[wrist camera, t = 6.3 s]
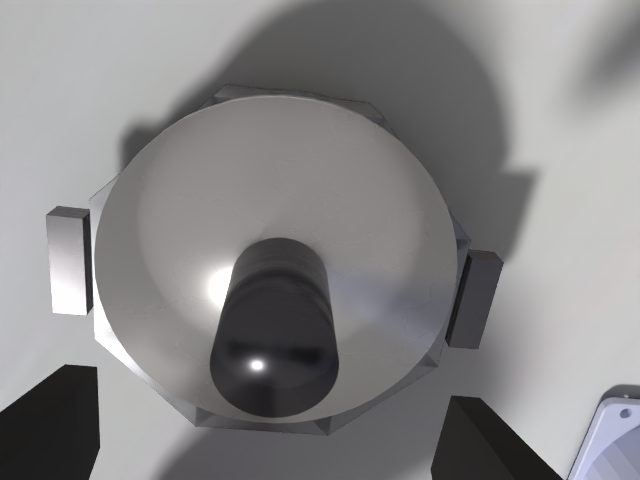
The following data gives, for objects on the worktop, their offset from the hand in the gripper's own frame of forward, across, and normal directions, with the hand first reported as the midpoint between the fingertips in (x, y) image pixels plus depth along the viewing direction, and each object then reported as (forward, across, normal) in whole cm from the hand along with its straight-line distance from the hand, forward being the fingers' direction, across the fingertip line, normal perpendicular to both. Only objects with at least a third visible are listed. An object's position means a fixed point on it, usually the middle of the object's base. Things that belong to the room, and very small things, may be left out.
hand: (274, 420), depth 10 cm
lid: (+6, 0, -1) cm, 6 cm away
